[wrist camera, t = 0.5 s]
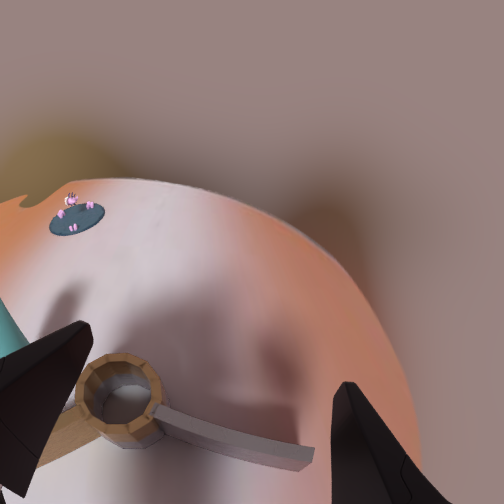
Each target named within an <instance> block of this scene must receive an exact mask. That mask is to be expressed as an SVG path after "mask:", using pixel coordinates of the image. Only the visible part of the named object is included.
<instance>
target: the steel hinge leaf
mask: <svg viewBox="0 0 504 504" xmlns="http://www.w3.org/2000/svg"><path fill="white" fill-rule="evenodd" d="M123 385H140V386H142V387H144V388H146V389H149V390H151V386H150V384H149V383H148V382H147V380H145V379H143V378H140V377H138V376H136V375H134V374H116V375H114V376H112V377H110V378H108V379H107V380H105V381H103V382H102V383H101V385H100V386H99V388H98V389H97V391H96V392H95V394H94V408H93V411H94V412H95V414H96V416H97V418H98V419H99V420H101V421H102V422H104V421H103V418H102V405H103V403H104V402H105V400H106V398H107V397H108V395H109V393H110V392H112V391H114V390H116V389H117V388H119V387H121V386H123ZM165 396H166V405H167V407H166V406H163V405H161V404H159V403H156V402H155V403H154V405H153V407H152V409H151V411H152V413H155V414H153V415H152V413H151V411H150V414H149V415H150V416H154V419H155V420H156V422H157V423H158V424H159V428H158V430H157V431H155V432H153V433H152V434H150V435H148V436H147V437H145V438H144V439H142V440H140V441H139V442H114V441H112V440H111V439H109V438H107V437H105V436H104V435H102V434H100V433H99V434H100V435H101V436H103V437H104V438H105V439H107V440H109V441H110V442H112V443H114V444H116V445H118V446H119V447H121V448H123V449H139V448H147V447H148V446H150V445H151V444H153V443H155V442H156V441H158V440H159V439H161V438H163V436H164V434H167V435H169V436H172V437H174V438H177V439H179V440H182V441H185V442H187V443H190V444H193V445H196V446H198V447H201V448H204V449H207V450H210V451H213V452H217V453H220V454H223V455H226V456H230V457H233V458H237V459H241V460H244V461H248V462H252V463H256V464H261V465H265V466H270V467H275V468H280V469H285V470H290V471H296V472H299V471H300V470H302V469H303V468H305V467H306V466H308V465H309V464H310V463H312V459H313V455H314V450H315V448H314V447H307V446H302V445H296V444H291V443H285V442H281V441H276V440H271V439H267V438H263V437H259V436H255V435H251V434H247V433H243V432H239V431H236V430H232V429H229V428H225V427H222V426H219V425H216V424H213V423H210V422H207V421H204V420H201V419H198V418H195V417H192V416H189V415H187V414H184V413H181V412H179V411H176V410H173V409H171V408H170V402H169V398H168V396H167V394H166V391H165ZM157 404H158V405H159V406H158V405H157ZM154 406H155V407H154ZM156 406H157V411H155V410H156ZM154 411H155V412H154ZM96 432H97V431H96Z"/></svg>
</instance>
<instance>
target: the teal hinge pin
mask: <svg viewBox="0 0 504 504" xmlns="http://www.w3.org/2000/svg"><path fill="white" fill-rule="evenodd" d="M29 344H30V343H29V342H28V340H27V339H26V338H25V336H24V335H23V333H22V332H21V330H20V329H19V327H18V326H17V324H16V323H15V321H14V320H13V318H12V317H11V315H10V313H9V312H8V310H7V309H6V307H5V305H4V303H3V302H2V300H1V298H0V358H2V357H4V356H5V357H6V355H8V354H10V353H12V352H14V351H16V350H18V349H20V348H22V347H25V346H27V345H29Z"/></svg>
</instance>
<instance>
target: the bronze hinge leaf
mask: <svg viewBox="0 0 504 504" xmlns="http://www.w3.org/2000/svg"><path fill="white" fill-rule="evenodd" d="M116 374H134V375H136V376H138V377H140V378H143V379H145V380H147V382H148V383H149V384H150V386H151V400H150V402H149V404H148V406H147V408H146V410H145V411H144V413H143V415H141V416H140V417H138V418H136V419H135V420H133V421H131V422H129V423H128V424H106V423H104V422H102V421H101V420H99V419H98V418H97V416H96V414H95V412H94V411H93V408H94V394H95V392H96V391H97V389H98V388H99V386H100V385H101V383H102V382H103V381H105V380H107V379H108V378H110V377H112V376H114V375H116ZM155 402H156V403H159V404H161V405H163V406H166V407H167V405H166V396H165V389H164V387H163V384H162V382H161V379H160V378H159V376H158V375H157V374H156V372H155V371H154V370H153V369H152V367H151V366H150V365H149V363H148V362H147V361H145V360H143V359H140V358H138V357H136V356H133V355H131V354H129V353H117V354H105V355H104V356H102V357H100V358H98V359H96V360H94V361H93V362H91V363H89V364H88V365H87V366H86V368H85V369H84V370H83V372H82V373H81V375H80V377H79V379H78V381H77V383H76V390H75V404H76V406H75V407H73V408H71V409H69V410H67V411H66V412H64V413H62V414H60V416H59V418H58V420H57V422H56V424H55V426H54V428H53V430H52V432H51V435H50V437H49V439H48V441H47V443H46V446H45V448H44V450H43V452H42V455H41V457H40V459H39V462H38V465H37V467H36V468H39V467H41V466H43V465H45V464H47V463H49V462H51V461H54V460H56V459H58V458H60V457H62V456H64V455H66V454H68V453H70V452H72V451H74V450H76V449H78V448H80V447H81V446H83V445H85V444H87V443H89V442H91V441H93V440H95V439H96V438H98V437H100V436H101V435H100V434H102V435H104V436H105V437H107V438H109V439H111V440H112V441H114V442H139V441H140V440H142V439H144V438H145V437H147V436H148V435H150V434H152V433H153V432H155V431H157V430H158V428H159V424H158V423H157V422H156V420H155V419H154V416H150V415H149V414H150V411H151V409H152V407H153V405H154V403H155ZM157 405H158V404H157ZM158 406H159V405H158ZM154 407H155V406H154ZM155 411H157V406H156V410H155ZM155 411H154V412H155ZM151 413H152V411H151ZM153 414H155V413H152V415H153ZM96 431H97V432H96ZM99 433H100V434H99Z"/></svg>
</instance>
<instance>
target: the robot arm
mask: <svg viewBox="0 0 504 504" xmlns="http://www.w3.org/2000/svg"><path fill="white" fill-rule="evenodd" d="M92 346H93V335H92V331H91V327H90V325H89V323H87V322H84V321H81V320H79V321H76V322H74V323H72V324H70V325H68V326H66V327H64V328H62V329H60V330H58V331H55V332H53V333H51V334H49V335H47V336H45V337H43V338H41V339H39V340H37V341H35V342H33V343H31V344H29V345H27V346H25V347H22V348H20V349H18V350H16V351H14V352H12V353H10V354H8V355H6V357H5V356H4V357H2V358H0V504H6V502H5V500H4V496H3V493H2V490H1V489H2V487H3V486H4V487H6V488H7V489H9V490H10V491H12V492H14V493H15V494H17V495H19V496H20V497H22V498H25V496H26V493H27V490H28V488H29V485H30V482H31V480H32V477H33V475H34V472H35V470H36V467H37V465H38V462H39V459H40V457H41V455H42V452H43V450H44V448H45V446H46V443H47V441H48V439H49V437H50V435H51V432H52V430H53V428H54V426H55V424H56V422H57V420H58V418H59V416H60V414H61V412H62V410H63V408H64V406H65V404H66V402H67V400H68V398H69V396H70V394H71V392H72V390H73V388H74V386H75V384H76V383H77V381H78V379H79V377H80V374H81V372H82V370H83V367H84V365H85V362H86V360H87V357H88V355H89V353H90V350H91V348H92ZM331 472H332V504H452V503H450V502H448V501H447V500H446V499H445V498H444V497H443V496H442V495H441V494H440V493H439V492H438V490H437V489H436V488H435V487H434V486H433V485H432V484H431V483H430V482H429V481H428V480H427V478H426V477H425V476H424V475H423V474H422V473H421V472H420V470H419V469H418V468H417V466H416V465H415V464H414V463H413V461H412V460H411V459H410V457H409V456H408V454H406V452H405V450H404V449H403V448H402V446H401V445H400V443H399V442H398V441H397V439H396V438H395V437H394V435H393V434H392V432H391V431H390V430H389V428H388V427H387V426H386V424H385V423H384V421H383V420H382V419H381V417H380V416H379V415H378V413H377V412H376V410H375V409H374V408H373V406H372V405H371V404H370V402H369V401H368V399H367V398H366V397H365V395H364V394H363V393H362V391H361V390H360V389H359V387H358V386H357V384H356V383H354V382H346V381H345V382H343V383H342V384H341V386H340V387H339V389H338V390H337V392H336V393H335V395H334V398H333V409H332V424H331Z"/></svg>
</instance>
